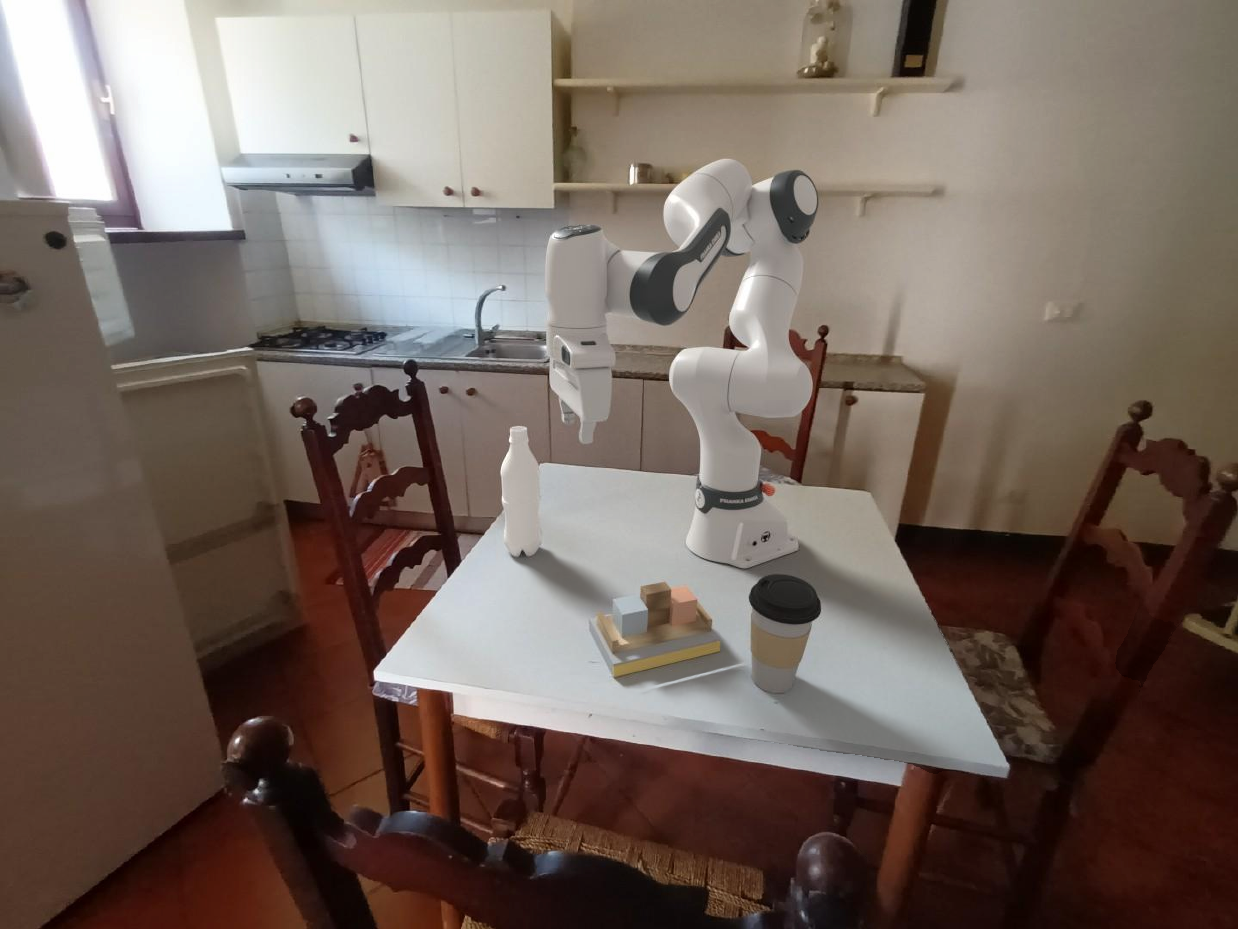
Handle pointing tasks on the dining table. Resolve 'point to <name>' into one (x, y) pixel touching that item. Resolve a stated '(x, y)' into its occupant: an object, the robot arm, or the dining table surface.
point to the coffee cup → (780, 629)
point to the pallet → (652, 632)
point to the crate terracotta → (682, 606)
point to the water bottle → (521, 495)
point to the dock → (654, 651)
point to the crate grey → (630, 615)
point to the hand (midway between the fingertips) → (576, 432)
